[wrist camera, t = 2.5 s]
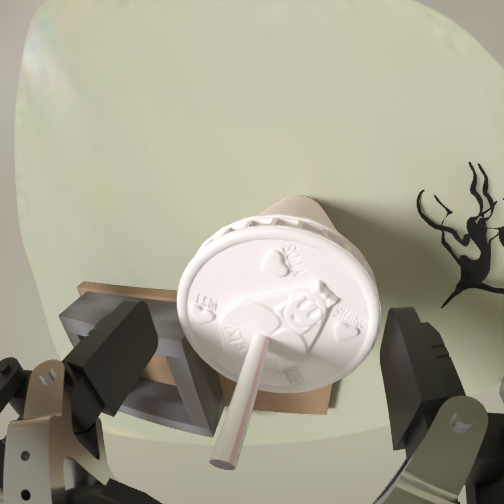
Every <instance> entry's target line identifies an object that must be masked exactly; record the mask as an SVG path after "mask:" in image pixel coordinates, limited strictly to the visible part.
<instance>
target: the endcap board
mask: <svg viewBox="0 0 504 504" xmlns="http://www.w3.org/2000/svg"><path fill="white" fill-rule="evenodd" d="M77 289H78V291H79V294H80V298H78V299H77V300H76V301H75V302H74V303H72V304H71V305H70V306H69V307H68V308H67V309H66V310H64V311H63V312H62V313H61V314H60V315H59V318H60V320H61V322H62V324H63V326H64V329H65V331H66V333H67V335H68V337H69V339H70V341H71V343H72V345H73V347H74V348H75V346H76V345H77V344H78V343H79V342H80V341H81V340H82V339H83V338H84V337H85V336H87V334H88V333H89V331H90V330H91V329H94V326H95V325H96V324H97V323H98V322H99V321H100V320H101V319H102V318H104V317H105V316H107V315H108V314H110V313H112V312H113V310H114V309H115V308H116V307H117V306H118V305H119V304H120V303H121V302H122V301H123V300H126V299H127V300H137V301H144V302H146V303H147V305H148V307H149V310H150V314H151V317H152V320H153V323H154V326H155V329H156V332H157V335H158V348H157V351H156V352H155V354H154V356H153V357H152V359H151V360H150V362H149V363H148V365H147V366H146V368H145V369H144V371H143V372H142V374H141V375H140V377H139V379H138V380H137V382H136V383H135V385H134V386H133V388H132V389H131V391H130V393H129V394H128V396H127V397H126V399H125V400H124V402H123V403H122V405H121V407H120V408H119V410H118V411H120V412H123V413H126V414H129V415H132V416H135V417H138V418H141V419H144V420H147V421H150V422H153V423H156V424H160V425H163V426H167V427H170V428H174V429H178V430H182V431H186V432H190V433H194V434H199V435H203V436H208V437H213V436H214V434H215V431H216V428H217V426H218V423H219V420H220V417H221V415H222V412H223V409H224V406H229V405H230V402H231V400H232V397H233V394H234V391H235V388H236V385H237V382H235V381H233V380H231V379H229V378H227V377H225V376H224V375H222V374H220V373H219V372H217V371H216V370H214V369H213V368H212V367H211V366H210V365H208V364H207V363H206V362H205V361H204V360H203V359H202V358H201V357H200V356H199V355H198V354H197V352H196V351H195V350H194V349H193V347H192V346H191V344H190V343H189V341H188V340H187V338H186V336H185V334H184V332H183V329H182V327H181V324H180V321H179V317H178V311H177V292H178V291H171V290H159V289H148V288H137V287H127V286H117V285H108V284H99V283H90V282H82V283H81V284H80V285H79V286H77ZM331 389H332V384H330V385H328V386H325V387H323V388H319V389H315V390H311V391H307V392H298V393H274V392H267V391H262V390H258V392H257V395H256V399H255V403H254V406H253V409H254V410H263V411H273V412H284V413H299V414H324V415H326V414H327V410H328V405H329V400H330V395H331Z"/></svg>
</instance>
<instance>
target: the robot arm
mask: <svg viewBox="0 0 504 504" xmlns="http://www.w3.org/2000/svg"><path fill="white" fill-rule="evenodd" d="M444 345H445V344H444V342H443V340H442V338H441V336H440V334H439V332H438V331H437V330H436V329H435V328H434V327H433V326H432V325H430V324H429V323H428V322H426V323H421V322H420V319H419V317H418V315H417V313H416V311H415V309H414V308H413V307H405V308H390V309H389V311H388V315H387V320H386V325H385V330H384V335H383V339H382V344H381V349H380V365H381V371H382V376H383V381H384V387H385V393H386V399H387V405H388V412H389V419H390V426H391V434H392V442H393V450H400V449H406V460H405V461H404V462H403V464H402V465H401V467H400V468H399V469H398V471H397V472H396V474H395V475H394V476H393V478H392V479H391V481H390V482H389V483H388V485H387V486H386V487H385V489H384V490H383V491H382V493H381V494H380V495H379V496H378V497H377V499H376V500H375V501H374V502H373V503H372V504H460V502H458V496H459V493H460V492H461V490H462V488H463V486H464V485H465V486H466V498H467V504H504V414H501V413H487V412H486V409H485V408H484V406H483V405H482V404H481V403H480V402H479V401H477V400H476V399H474V398H472V397H469V396H466V394H465V392H464V389H463V386H462V384H461V381H460V379H459V376H458V374H457V371H456V369H455V367H454V364H453V362H452V360H451V357H449V353H448V351H447V348H446V347H445V346H444ZM157 348H158V335H157V332H156V329H155V326H154V323H153V320H152V317H151V314H150V310H149V307H148V305H147V303H146V302H144V301H137V300H127V299H126V300H123V301H122V302H121V303H120V304H119V305H118V306H117V307H116V308H115V309H114V310H113V312H112V313H110V314H108V315H107V316H105V317H104V318H102V319H101V320H100V321H99V322H98V323H97V324H96V325H95V326H94V329H91V330H90V331H89V333H88V334H87V336H85V337H84V338H83V339H82V340H81V341H80V342H79V343H78V344H77V345H76V346H75V348H74V349H73V350H72V351H71V352H70V353H69V354H68V355H67V356H66V357H65V358H64V360H63V361H62V362H61V361H59V360H48V361H45V362H43V363H41V364H39V365H38V366H37V367H36V368H35V369H34V370H33V371H28V370H23V368H22V367H21V365H20V364H19V362H18V360H17V359H15V358H13V357H9V358H5V359H3V360H1V361H0V413H1V411H2V410H3V409H4V407H5V406H6V405H7V403H8V402H9V403H10V405H11V406H12V407H13V408H14V410H15V411H16V412H17V413H18V414H19V418H18V419H17V420H14V421H11V422H10V423H9V425H8V430H7V435H6V436H5V438H4V439H2V440H0V504H162V503H160V502H159V501H157V500H155V499H154V498H152V497H151V496H149V495H148V494H146V493H145V492H142V491H139V490H137V489H134V488H131V487H129V486H127V485H125V484H122V483H120V482H118V481H116V479H115V477H114V475H113V474H112V472H111V471H110V469H109V466H108V463H107V458H106V452H105V446H104V440H103V432H102V424H101V420H100V419H99V417H98V416H99V415H100V413H101V412H102V413H105V414H107V415H110V416H113V417H114V416H115V415H116V413H117V411H118V410H119V408H120V407H121V405H122V403H123V402H124V400H125V399H126V397H127V396H128V394H129V393H130V391H131V389H132V388H133V386H134V385H135V383H136V382H137V380H138V379H139V377H140V375H141V374H142V372H143V371H144V369H145V368H146V366H147V365H148V363H149V362H150V360H151V359H152V357H153V356H154V354H155V352H156V351H157ZM500 396H501V398H502V401H503V403H504V379H503V381H502V383H501V386H500Z"/></svg>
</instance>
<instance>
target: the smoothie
mask: <svg viewBox="0 0 504 504" xmlns="http://www.w3.org/2000/svg"><path fill="white" fill-rule="evenodd" d="M177 311H178V317H179V321H180V324H181V327H182V329H183V332H184V334H185V336H186V338H187V340H188V341H189V343H190V344H191V346H192V347H193V349H194V350H195V351H196V352H197V354H198V355H199V356H200V357H201V358H202V359H203V360H204V361H205V362H206V363H207V364H208V365H210V366H211V367H212V368H213V369H214V370H216V371H217V372H219V373H220V374H222V375H224V376H225V377H227V378H229V379H231V380H233V381H235V382H237V385H236V388H235V391H234V394H233V397H232V400H231V402H230V405H229V408H228V411H227V414H226V417H225V420H224V422H223V425H222V428H221V431H220V434H219V436H218V439H217V442H216V445H215V447H214V450H213V453H212V456H211V458H210V461H209V462H210V463H211V464H212V465H214V466H215V467H218V468H220V469H224V470H234V469H235V468H236V465H237V462H238V459H239V455H240V452H241V448H242V445H243V442H244V438H245V435H246V431H247V428H248V424H249V421H250V417H251V414H252V410H253V406H254V403H255V399H256V395H257V392H258V390H262V391H267V392H274V393H298V392H307V391H311V390H315V389H319V388H323V387H325V386H328V385H330V384H333V383H335V382H337V381H339V380H340V379H342V378H344V377H345V376H347V375H348V374H350V373H351V372H352V371H354V370H355V369H356V368H357V367H358V366H359V365H360V364H361V363H362V362H363V361H364V360H365V358H366V357H367V356H368V354H369V353H370V351H371V350H372V348H373V346H374V344H375V342H376V339H377V336H378V333H379V329H380V323H381V307H380V301H379V292H378V288H377V285H376V281H375V277H374V274H373V270H372V269H371V267H370V266H369V264H368V263H367V261H366V260H365V258H364V257H363V255H362V254H361V252H360V250H359V249H358V248H357V247H356V246H354V245H353V244H352V243H351V242H350V241H349V240H347V239H346V238H345V237H344V236H343V235H341V234H340V233H339V232H338V231H337V230H336V229H335V227H334V225H333V224H332V222H331V221H330V219H329V217H328V216H327V214H326V213H325V211H324V210H323V208H322V207H321V206H320V205H319V204H318V203H317V202H316V201H315V200H313V199H311V198H309V197H306V196H302V195H291V196H287V197H284V198H282V199H280V200H279V201H277V202H276V203H274V204H273V205H272V206H270V207H269V208H267V209H266V210H264V211H263V212H261V213H260V214H259V215H257V216H250V217H247V218H244V219H242V220H239V221H237V222H234V223H232V224H229V225H227V226H224V227H222V228H221V229H220V230H219V231H217V232H216V233H215V234H214V235H212V236H211V237H210V238H209V239H208V240H206V241H205V242H204V243H203V244H202V246H201V247H200V249H199V250H198V252H197V253H196V255H195V256H194V257H193V259H192V260H191V261H190V262H189V264H188V265H187V267H186V269H185V270H184V273H183V275H182V277H181V280H180V283H179V287H178V292H177Z"/></svg>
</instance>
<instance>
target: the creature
mask: <svg viewBox="0 0 504 504" xmlns="http://www.w3.org/2000/svg"><path fill="white" fill-rule="evenodd" d="M469 165H470V167H471V169H472V171H473V174H474V176H473V181H472V184H471V187H470V192H471V194H473V195H474V196H475V197H476V199H477V201H478V203H479V205H480V213H479V215H478V216H477V217H470V218H469V219H468V221H467V231H468V233H469V234H465V235H464V237H463V240H462V239H461V238H460V237H459V235H458V233H457V232H456V231H455V230H454V229H452V228H449V227H445V226H442V225H436V224H435V223H434V222H432V221H431V220H430V219H429V218H428V217H426V216H425V215H424V214H423V213H422V212H421V208H420V204H419V198H420V195H421V193H422V192H424V190H422V191H421V192H420V193H419V195H418V198H417V209H418V212H419V214H420V216H421V217H422V218H423V219H424V220H425V221H426V222H427V223H428V224H429V225H430V226H432V227H433V228H435V229H438V230H441V231H442V244H443V246H444V247H445V248H446V249H447V250H448V251H449V252H450V254H451V255H452V256H453V258H454V259H455V260H456V262H457V263H458V264H459V265H460V267H461V279H460V281H459V283H458V284H457V286H456V289H455V291H454V292H453V293H452V294H451V295H450V297H449V298H448V299H447V300H446V302H445V303H444V304H443V305H442V307H441V308H443V307H444V306H445V305H446V304H447V303H448V302H449V301H450V300H451V299H452V298H453V297H454V296H456V295H458V294H459V293H460V292H462V291H463V290H465V289H468V288H478V289H482V290H486V291H490V292H493V293H500V294H504V288H495V287H491V286H489V285H486V284H484V283H481V282H482V281H483V280H484V279H485V278H486V277H487V275H488V273H489V270H490V258H491V247H490V244H491V240H492V239H493V238H495V237H496V236H497V235H498V234H499V239H500V242H501V243H502V245H503V246H504V229H503V228H504V226H503V227H501V228H489V229H498V230H499V232H498V234H497V235H496V236H495V237H493V238H491V239H490V240H489V244H488V242H487V237H486V232H487V227H485V224H486V222H485V221H487V220H488V219H489V218H490V217H491V215H492V213H493V209H494V205H495V204H496V203H497V201H495V202H494V204H493V200H492V198H491V197H490V195H489V194H488V193H487V190H488V178H487V175H486V174H485V172H484V170H483V169H482V167H481V165H480V164H479V163H478V166H479V168H480V170H481V172H482V173H483V175H484V177H485V180H484V184H483V195H484V196H485V197H486V198H487V199H488V202H489V204H490V208H489V209H488V210H486V211H484V212H483V213H482V210H483V201H482V198H481V196H480V195H479V194H478V193H477V192H476V184H477V175H476V173H475V171H474V168H473V166H472V164H471V162H469ZM434 197H435V198H436V200H437V201H438V202H439V203H440V204H441V205H442V206H443V207H444V208H445V209H446V211H447V212H448V213H447V216H448V215H449V214H451V213H453V212H452V211H450V210H449V209H448V208H446V207H445V206H444V205H443V204H442V203H441V202H440V201H439V199H438V198H437V197H436V195H434ZM503 200H504V198H503ZM490 209H491V215H490V216H489V217H487V218H480V219H479V221H478V223H477V224H476V223H475V220H476V219H478V218H479V216H481V217H484V214H485V213H486V212H488V211H489V210H490ZM447 216H446V217H447ZM444 219H445V218H444ZM443 221H444V220H443ZM442 224H443V222H442ZM443 231H447V232H450V233H452V234H453V236H454V237H455V239H456V240H457V241H458V242H460V244H462V245H463V246H467V245H468V244H469V242H470V237H471V239H472V240H473V241H474V242H475V244H476V245H477V246H478V248H479V249H480V251H481V255H480V258H479V259H478V260H471V259H469V258H468V257H466V256H465V255H461V256H460V259H458V258H457V257H456V256H455V255H454V253H453V252H452V250H451V248H450V247H449V245H448V244H447V243H446V242H445V239H444V233H443ZM469 235H470V236H469Z"/></svg>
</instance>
